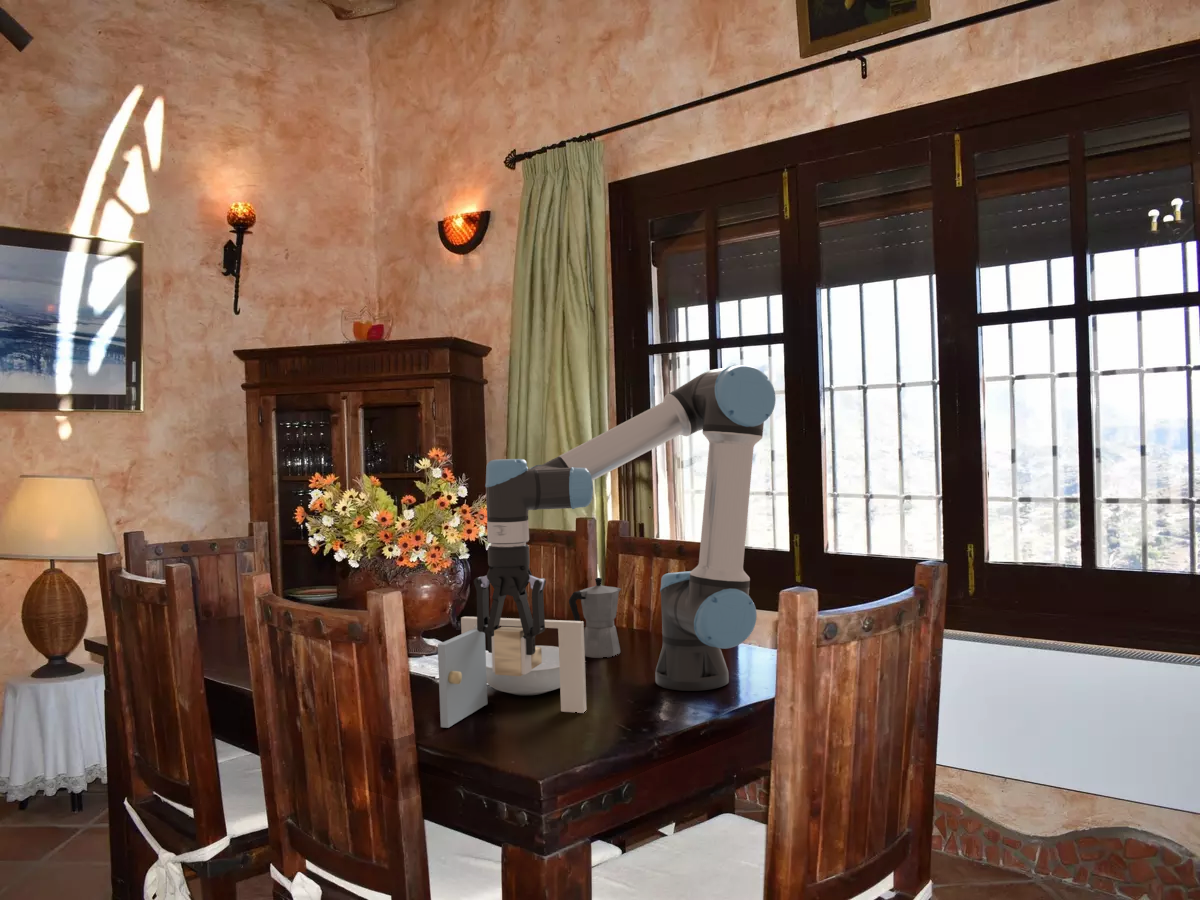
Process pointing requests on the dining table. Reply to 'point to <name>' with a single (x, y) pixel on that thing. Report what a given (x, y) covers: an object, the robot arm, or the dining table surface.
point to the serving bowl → (529, 675)
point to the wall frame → (568, 658)
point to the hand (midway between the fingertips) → (512, 671)
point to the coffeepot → (598, 619)
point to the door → (462, 676)
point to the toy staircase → (511, 651)
